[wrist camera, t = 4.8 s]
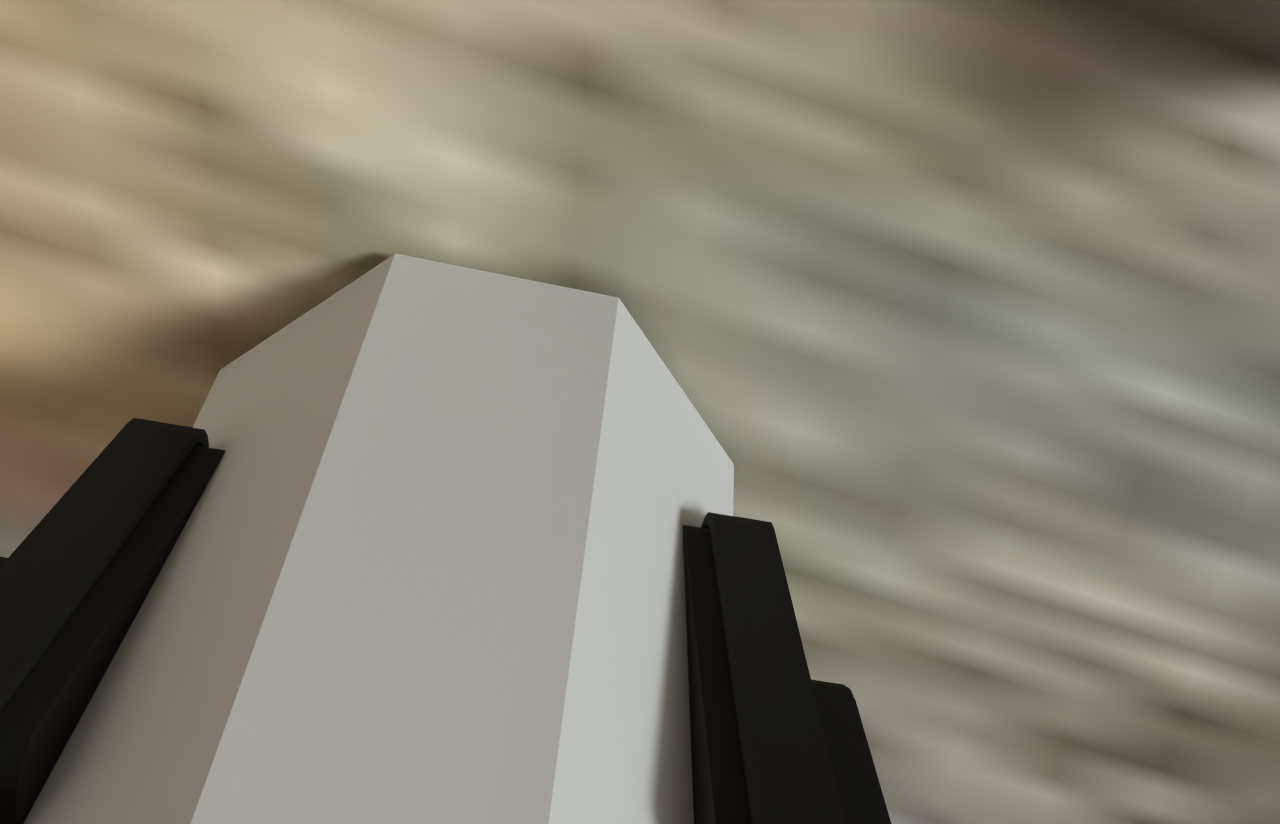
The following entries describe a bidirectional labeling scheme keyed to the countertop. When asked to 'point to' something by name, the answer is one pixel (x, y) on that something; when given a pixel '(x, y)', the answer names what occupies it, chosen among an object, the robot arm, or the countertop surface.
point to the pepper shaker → (419, 577)
